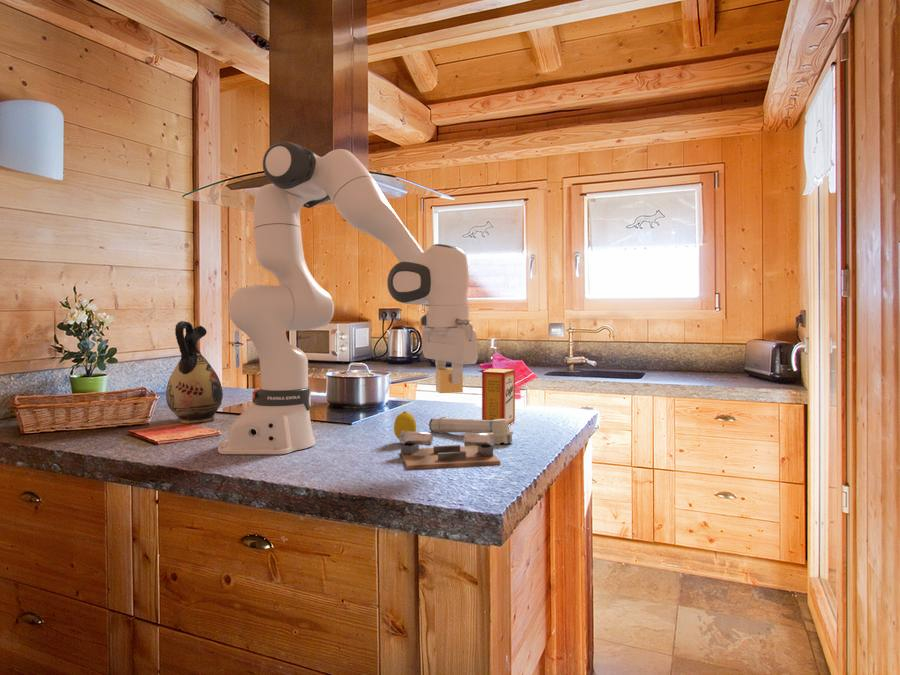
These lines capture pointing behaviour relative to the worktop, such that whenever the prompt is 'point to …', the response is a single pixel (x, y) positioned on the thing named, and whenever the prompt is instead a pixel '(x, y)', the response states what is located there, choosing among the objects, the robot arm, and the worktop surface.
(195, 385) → the ceramic jug
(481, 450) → the shaft
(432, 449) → the shaft bench
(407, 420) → the lemon
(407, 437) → the shaft
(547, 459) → the worktop surface
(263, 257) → the robot arm
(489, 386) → the baking soda box
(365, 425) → the worktop surface
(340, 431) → the worktop surface
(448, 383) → the coupling block
